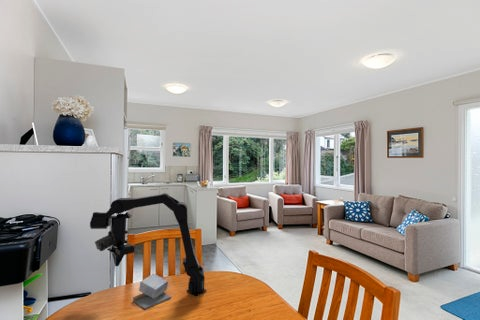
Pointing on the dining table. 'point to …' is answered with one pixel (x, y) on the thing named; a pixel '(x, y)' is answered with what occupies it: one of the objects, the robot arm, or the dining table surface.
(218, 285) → the dining table surface
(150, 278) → the medicine box
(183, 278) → the dining table surface
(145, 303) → the mat
